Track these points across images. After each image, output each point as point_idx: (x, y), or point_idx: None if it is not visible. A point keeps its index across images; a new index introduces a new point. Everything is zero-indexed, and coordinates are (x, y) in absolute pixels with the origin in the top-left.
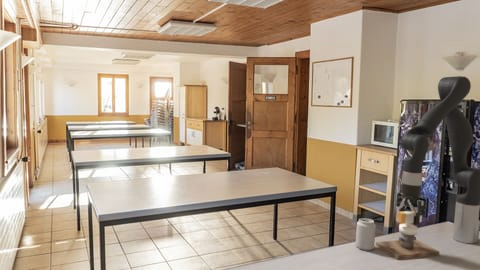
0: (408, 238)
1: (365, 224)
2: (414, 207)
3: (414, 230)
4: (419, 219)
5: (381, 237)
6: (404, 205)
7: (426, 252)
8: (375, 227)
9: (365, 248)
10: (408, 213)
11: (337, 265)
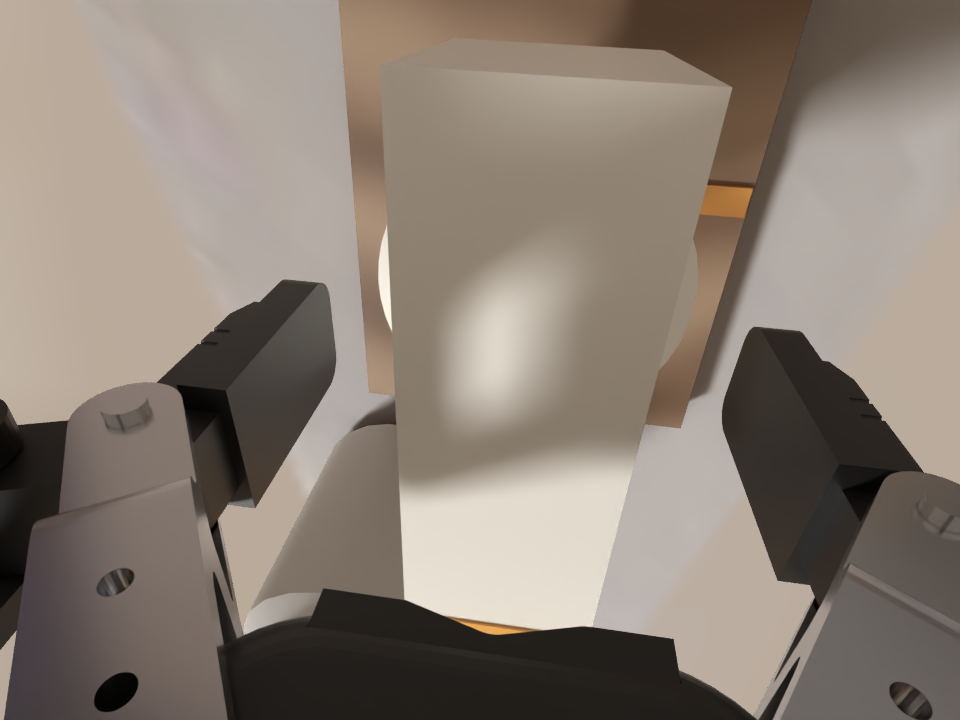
0: None
1: None
2: (673, 647)
3: (690, 295)
4: (890, 435)
5: (174, 177)
6: (235, 622)
7: (778, 72)
8: (393, 588)
9: None
10: (592, 580)
11: None
